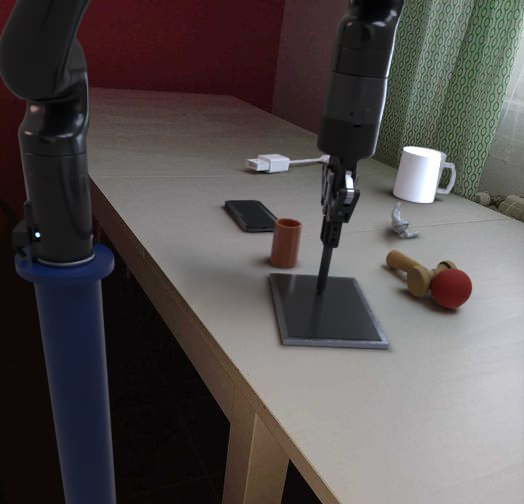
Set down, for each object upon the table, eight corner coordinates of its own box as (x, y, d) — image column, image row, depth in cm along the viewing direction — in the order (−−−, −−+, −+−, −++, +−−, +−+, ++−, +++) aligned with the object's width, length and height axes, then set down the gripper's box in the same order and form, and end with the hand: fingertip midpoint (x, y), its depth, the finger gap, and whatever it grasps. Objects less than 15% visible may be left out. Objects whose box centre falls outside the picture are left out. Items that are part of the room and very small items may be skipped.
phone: (258, 199, 114) (284, 225, 103) (258, 205, 115) (283, 230, 103) (223, 200, 112) (245, 226, 100) (222, 205, 112) (245, 232, 101)
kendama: (368, 275, 93) (438, 312, 78) (378, 239, 91) (452, 270, 76) (402, 279, 97) (475, 314, 82) (413, 244, 95) (490, 275, 80)
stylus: (316, 294, 80) (331, 209, 73) (314, 290, 81) (329, 206, 74) (325, 295, 80) (341, 210, 73) (323, 290, 81) (339, 206, 74)
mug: (444, 195, 137) (457, 152, 131) (450, 207, 129) (464, 161, 123) (391, 187, 138) (401, 144, 132) (394, 199, 130) (405, 153, 124)
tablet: (282, 344, 69) (283, 338, 69) (268, 277, 86) (269, 271, 85) (387, 349, 71) (389, 343, 70) (354, 281, 87) (355, 276, 87)
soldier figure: (415, 230, 115) (430, 232, 103) (396, 244, 116) (408, 248, 104) (394, 200, 113) (407, 199, 102) (375, 214, 114) (385, 215, 103)
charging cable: (339, 166, 155) (341, 154, 153) (257, 174, 134) (259, 160, 133) (326, 162, 158) (328, 150, 156) (244, 169, 137) (245, 155, 135)
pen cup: (271, 267, 89) (276, 226, 85) (269, 256, 93) (273, 217, 89) (297, 268, 89) (303, 228, 86) (294, 258, 93) (299, 219, 89)
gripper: (313, 101, 72) (296, 225, 82) (332, 121, 61) (310, 262, 70) (367, 107, 73) (344, 228, 83) (396, 127, 62) (365, 265, 71)
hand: (328, 243), depth 77 cm, fingers closed on stylus, 1 cm apart
